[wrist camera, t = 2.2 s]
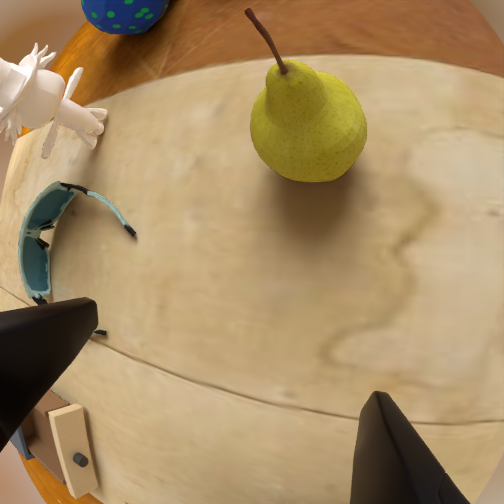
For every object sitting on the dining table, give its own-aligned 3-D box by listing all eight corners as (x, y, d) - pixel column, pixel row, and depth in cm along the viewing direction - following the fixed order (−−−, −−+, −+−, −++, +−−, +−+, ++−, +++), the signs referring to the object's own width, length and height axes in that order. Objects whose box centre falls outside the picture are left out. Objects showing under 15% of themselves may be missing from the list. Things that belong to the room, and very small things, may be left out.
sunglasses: (67, 177, 29) (37, 168, 25) (156, 216, 26) (124, 207, 21) (38, 284, 30) (8, 286, 25) (115, 347, 27) (83, 359, 22)
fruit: (381, 179, 18) (396, 59, 7) (286, 210, 20) (193, 132, 9) (344, 98, 19) (313, -33, 8) (260, 128, 21) (173, 23, 10)
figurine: (98, 97, 29) (-11, 38, 13) (139, 86, 27) (16, 4, 10) (72, 175, 29) (-56, 134, 13) (110, 174, 27) (-47, 118, 10)
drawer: (89, 411, 25) (59, 421, 21) (104, 491, 24) (82, 504, 20) (26, 364, 30) (3, 368, 26) (40, 438, 30) (20, 445, 25)
